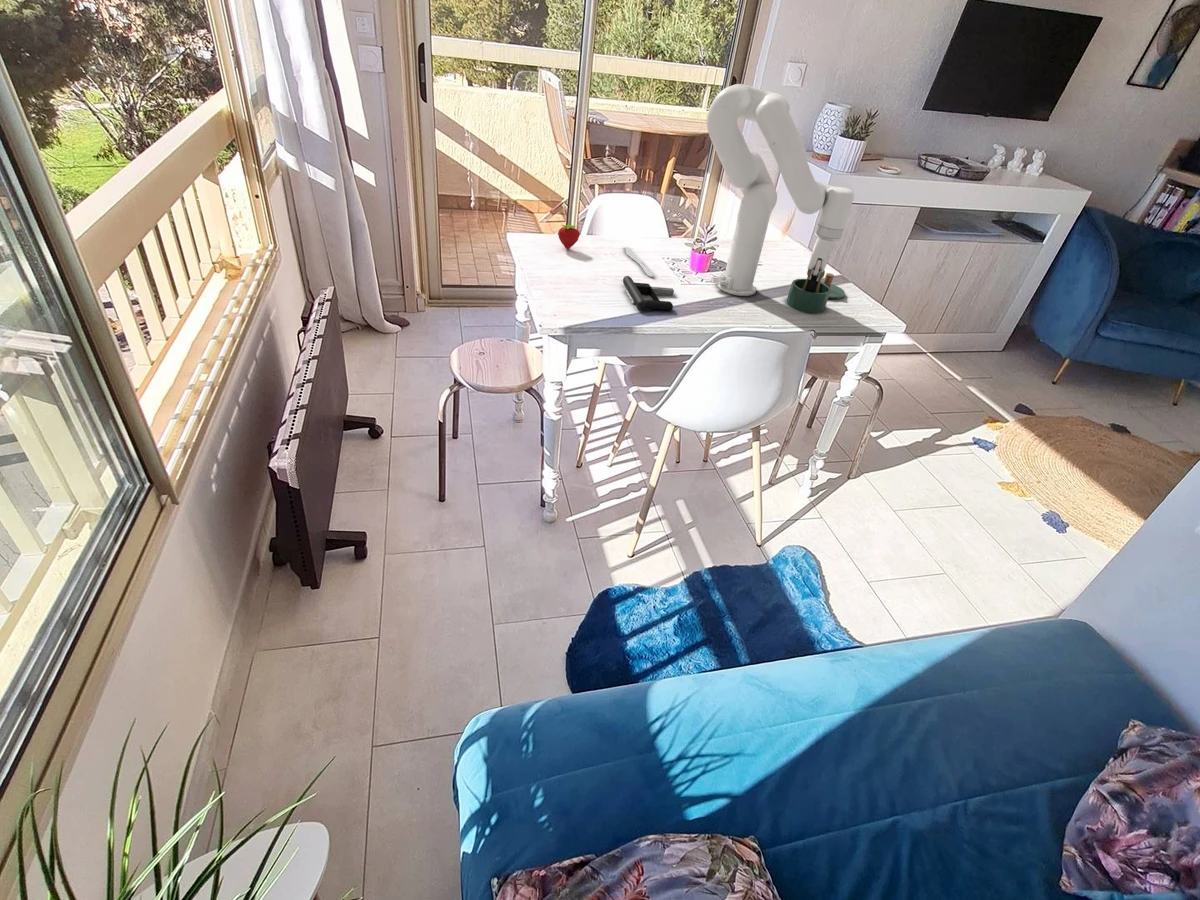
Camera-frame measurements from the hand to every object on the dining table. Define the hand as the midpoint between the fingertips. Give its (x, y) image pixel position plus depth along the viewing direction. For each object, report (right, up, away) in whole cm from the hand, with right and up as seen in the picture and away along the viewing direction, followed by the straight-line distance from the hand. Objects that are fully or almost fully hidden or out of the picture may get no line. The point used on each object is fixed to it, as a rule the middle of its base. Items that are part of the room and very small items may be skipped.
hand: (810, 289), depth 198 cm
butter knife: (-54, +14, +18) cm, 58 cm away
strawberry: (-78, +19, +22) cm, 83 cm away
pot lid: (+10, +3, +14) cm, 17 cm away
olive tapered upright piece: (0, -3, +2) cm, 4 cm away
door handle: (-51, -4, -5) cm, 52 cm away
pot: (-1, -4, +3) cm, 5 cm away
